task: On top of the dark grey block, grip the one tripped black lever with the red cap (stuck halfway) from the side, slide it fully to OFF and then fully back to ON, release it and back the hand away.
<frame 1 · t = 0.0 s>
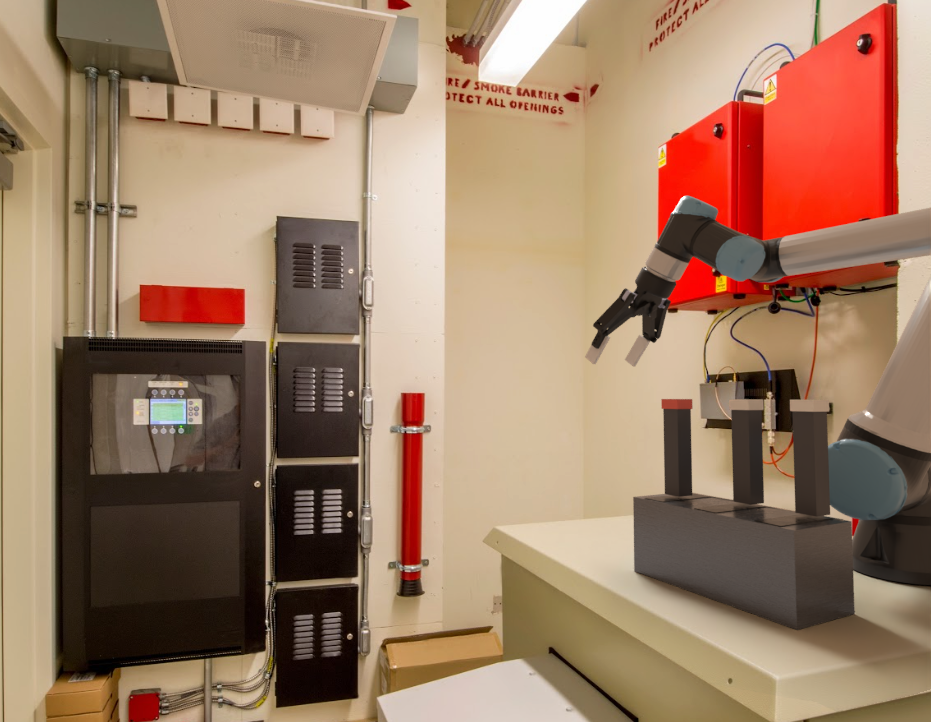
hand: (610, 362, 129), 36 cm above the table, tool tilted 35°, fingers open, 13 cm apart
dark grey block: (732, 590, 89), on the table
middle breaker: (747, 450, 92), point 20 cm above the table, slide at 0.0 cm
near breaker: (810, 456, 83), point 20 cm above the table, slide at 0.0 cm
tripped breaker: (677, 446, 99), point 20 cm above the table, slide at 4.0 cm
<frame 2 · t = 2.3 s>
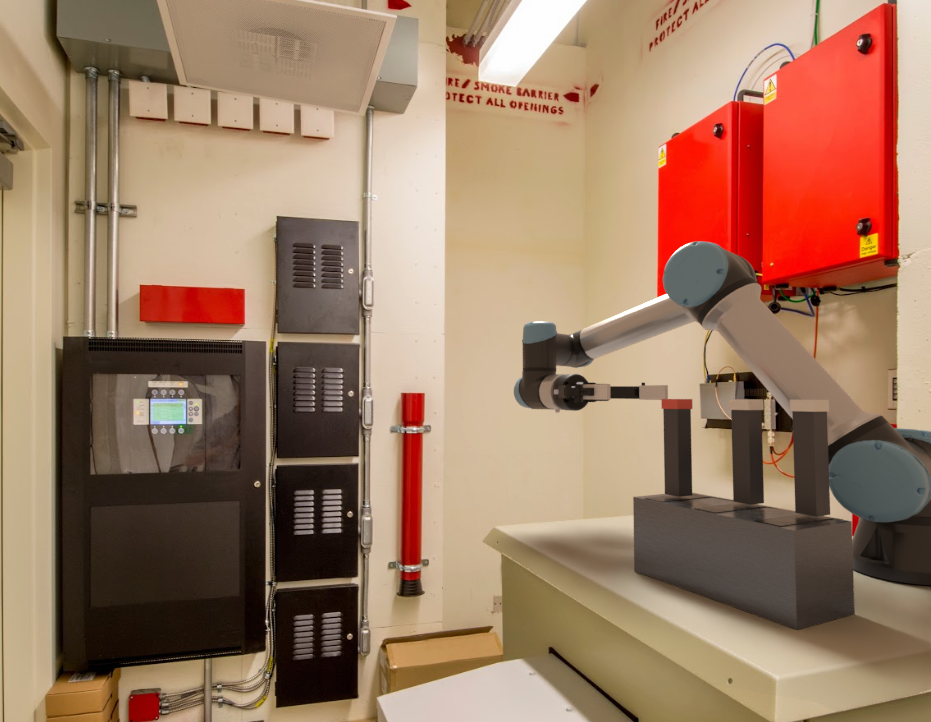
hand: (638, 392, 107), 29 cm above the table, tool horizontal, fingers open, 13 cm apart
nothing on the table moved.
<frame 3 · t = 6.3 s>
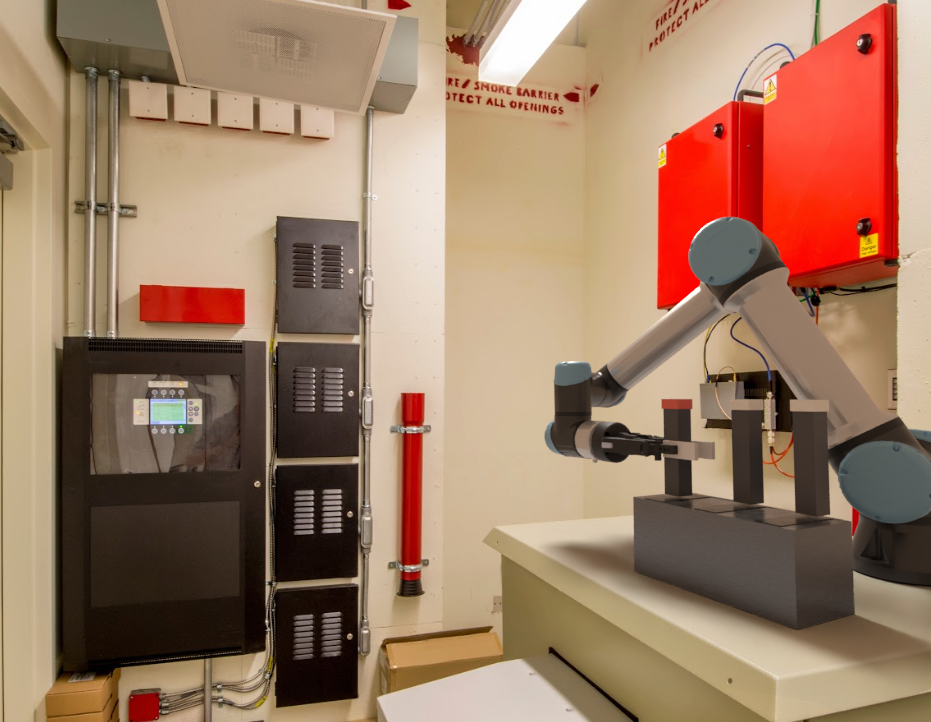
hand: (704, 451, 94), 20 cm above the table, tool horizontal, fingers closed on tripped breaker, 3 cm apart
tripped breaker: (677, 446, 99), point 20 cm above the table, slide at 4.0 cm, touching gripper
everything else where it was.
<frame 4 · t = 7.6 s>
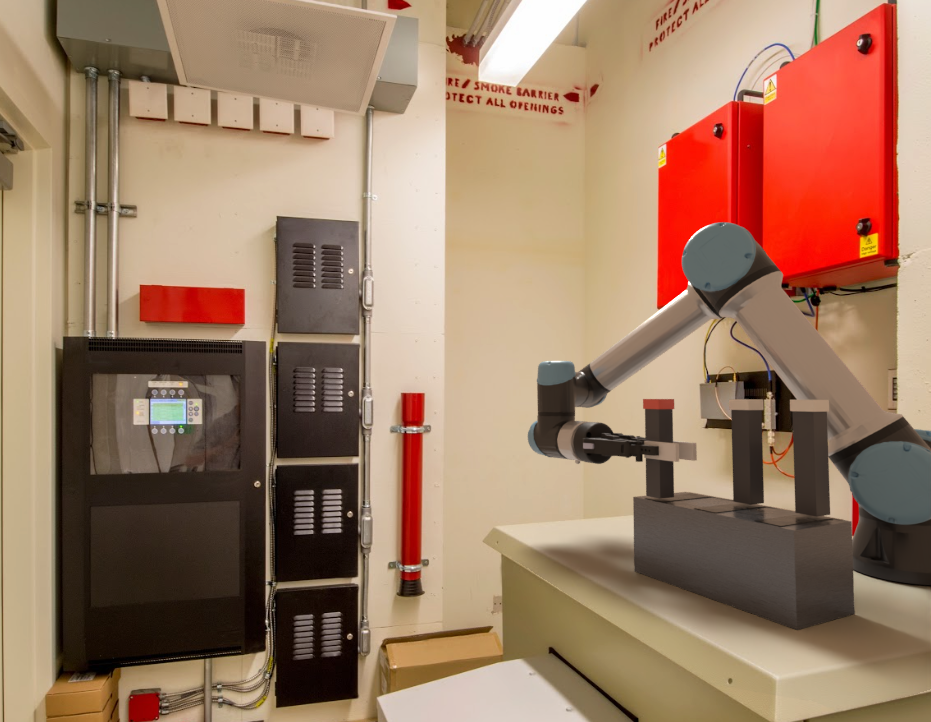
hand: (685, 452, 92), 20 cm above the table, tool horizontal, fingers closed on tripped breaker, 3 cm apart
tripped breaker: (659, 447, 97), point 20 cm above the table, slide at 8.1 cm, touching gripper
everything else where it was.
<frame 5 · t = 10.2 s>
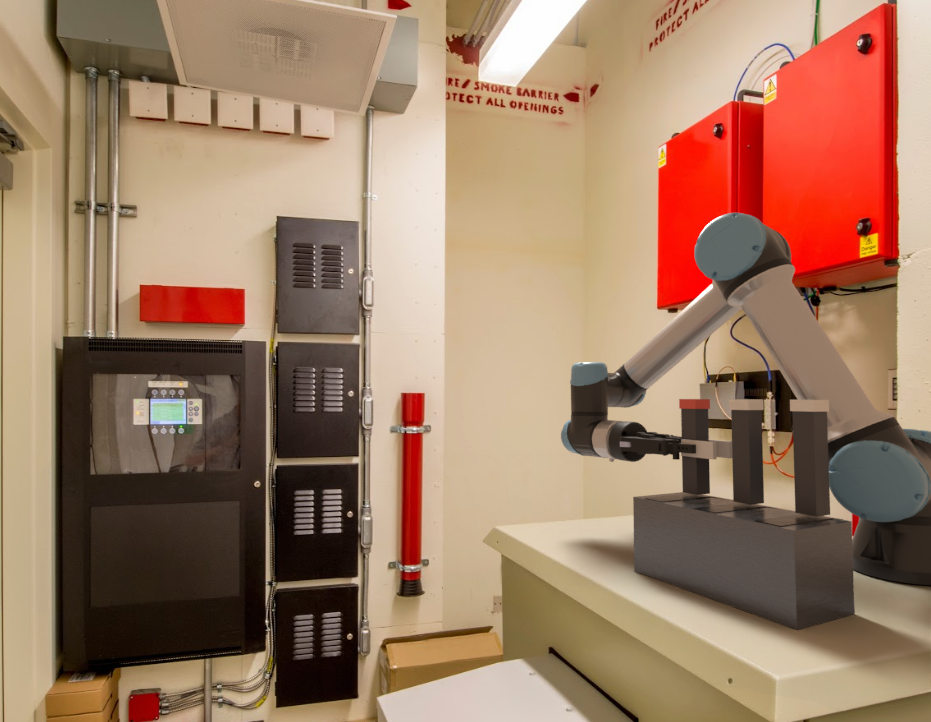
hand: (722, 450, 96), 20 cm above the table, tool horizontal, fingers closed on tripped breaker, 3 cm apart
tripped breaker: (695, 445, 101), point 20 cm above the table, slide at -0.1 cm, touching gripper
everything else where it was.
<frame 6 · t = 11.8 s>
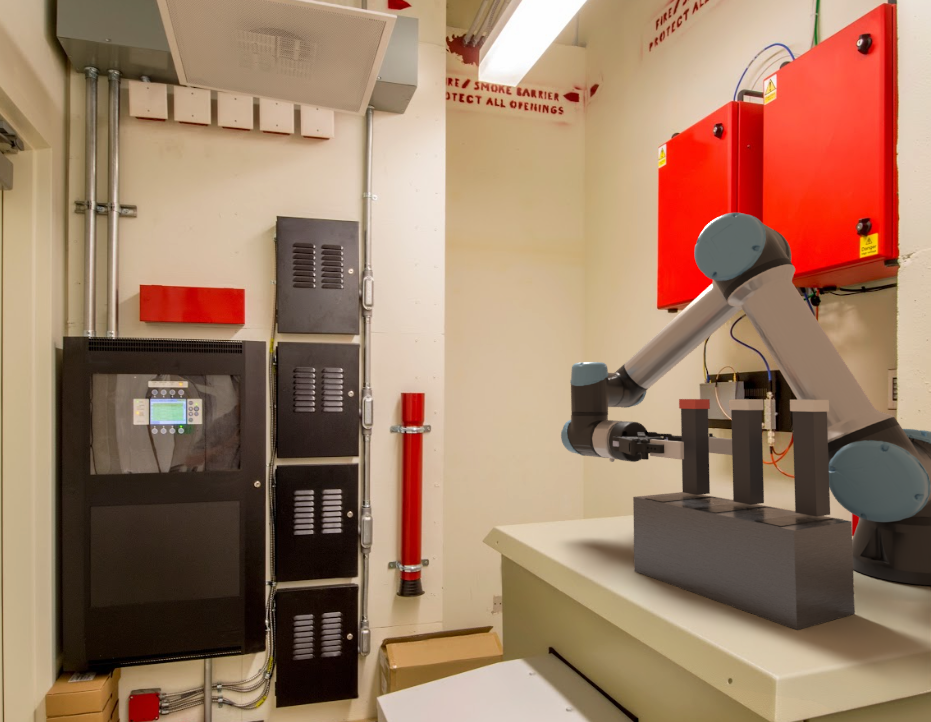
hand: (712, 449, 98), 20 cm above the table, tool horizontal, fingers open, 13 cm apart
tripped breaker: (695, 445, 101), point 20 cm above the table, slide at -0.1 cm
everything else where it was.
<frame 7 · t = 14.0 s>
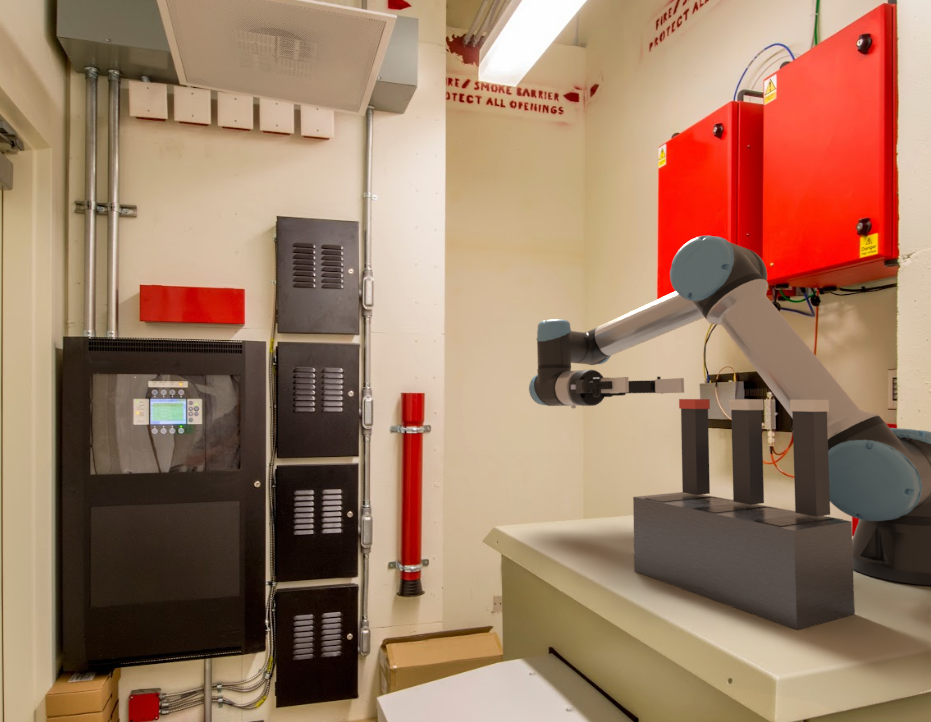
hand: (655, 385, 109), 31 cm above the table, tool horizontal, fingers open, 13 cm apart
nothing on the table moved.
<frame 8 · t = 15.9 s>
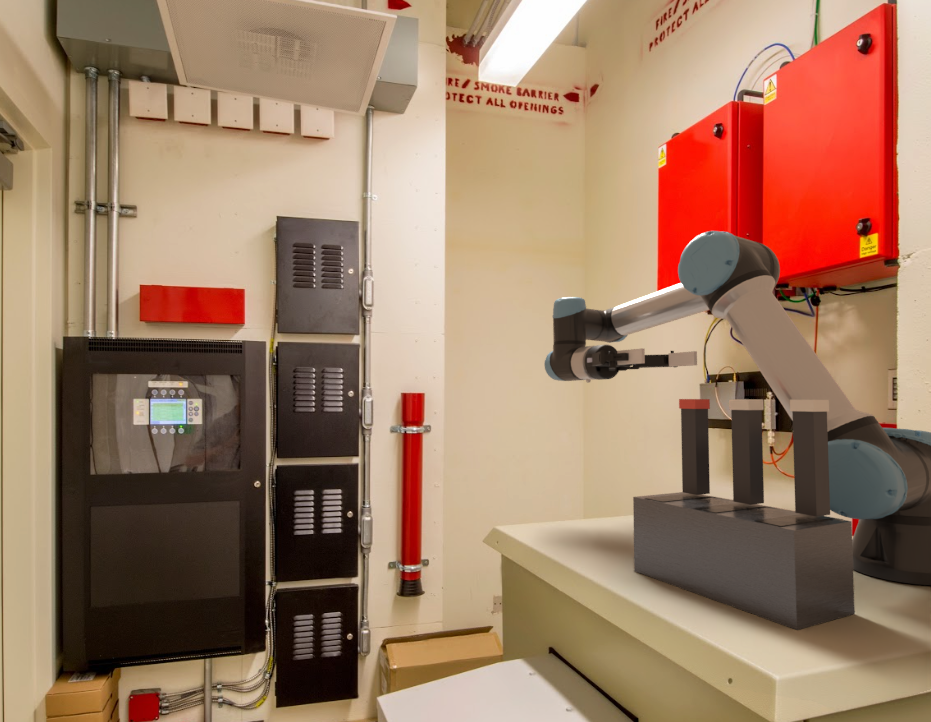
hand: (670, 357, 114), 36 cm above the table, tool horizontal, fingers open, 13 cm apart
at the end: tripped breaker slide at -0.1 cm; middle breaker slide at 0.0 cm; the gripper is holding nothing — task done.
